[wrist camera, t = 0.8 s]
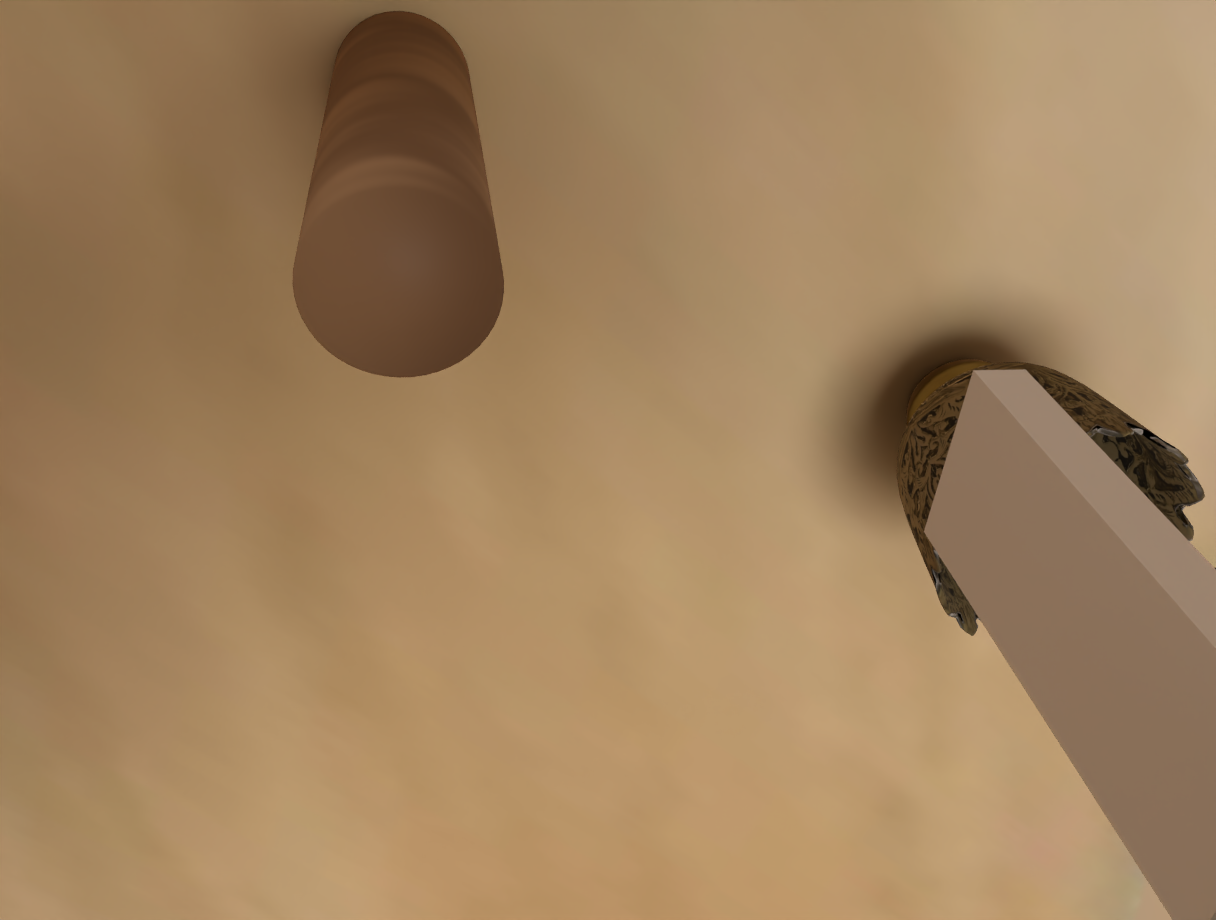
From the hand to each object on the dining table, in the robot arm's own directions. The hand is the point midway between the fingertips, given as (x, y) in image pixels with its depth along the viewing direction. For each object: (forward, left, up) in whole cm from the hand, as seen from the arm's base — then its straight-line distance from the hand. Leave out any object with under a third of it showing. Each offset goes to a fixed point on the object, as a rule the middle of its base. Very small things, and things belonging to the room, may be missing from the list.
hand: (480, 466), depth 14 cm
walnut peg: (-1, 0, -17) cm, 17 cm away
